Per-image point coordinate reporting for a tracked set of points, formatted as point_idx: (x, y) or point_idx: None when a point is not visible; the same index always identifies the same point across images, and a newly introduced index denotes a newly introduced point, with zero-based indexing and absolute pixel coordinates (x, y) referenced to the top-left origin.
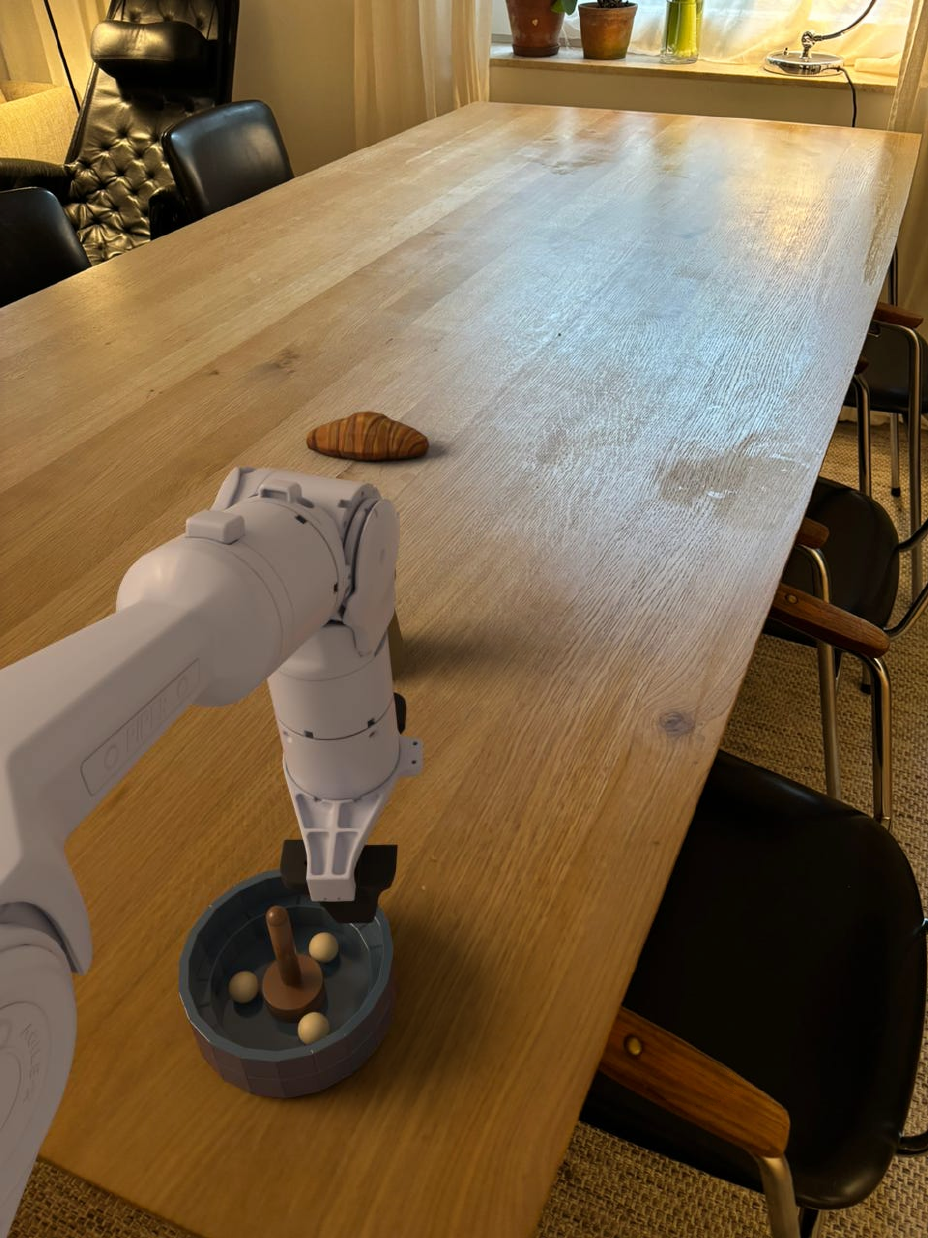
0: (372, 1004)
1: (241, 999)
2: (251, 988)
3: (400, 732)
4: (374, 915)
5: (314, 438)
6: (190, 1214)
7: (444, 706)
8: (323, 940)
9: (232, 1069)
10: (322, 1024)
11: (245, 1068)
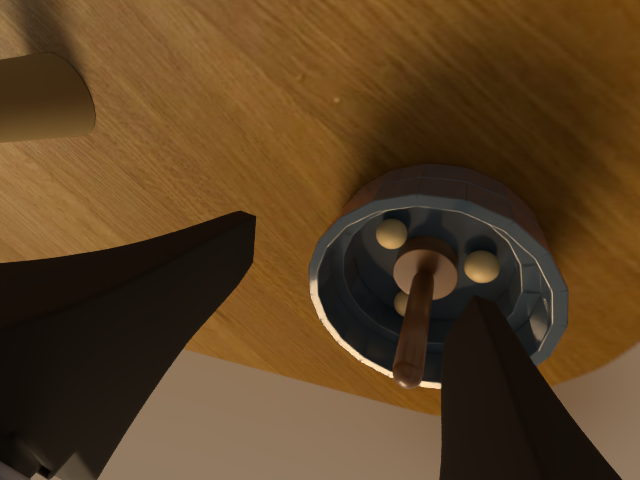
0: (540, 249)
1: None
2: None
3: (15, 329)
4: (505, 318)
5: None
6: (586, 371)
7: (99, 14)
8: (389, 240)
9: None
10: (489, 266)
11: None
